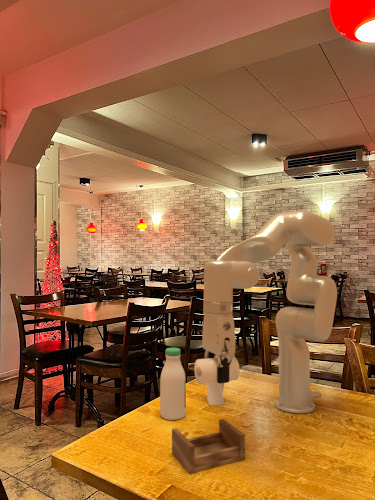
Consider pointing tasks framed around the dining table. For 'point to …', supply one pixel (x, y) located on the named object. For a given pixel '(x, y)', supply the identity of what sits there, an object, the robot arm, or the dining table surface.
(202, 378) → the roll
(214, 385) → the skyscraper
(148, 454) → the dining table surface
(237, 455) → the cradle
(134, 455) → the dining table surface
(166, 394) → the milk bottle
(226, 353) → the robot arm
